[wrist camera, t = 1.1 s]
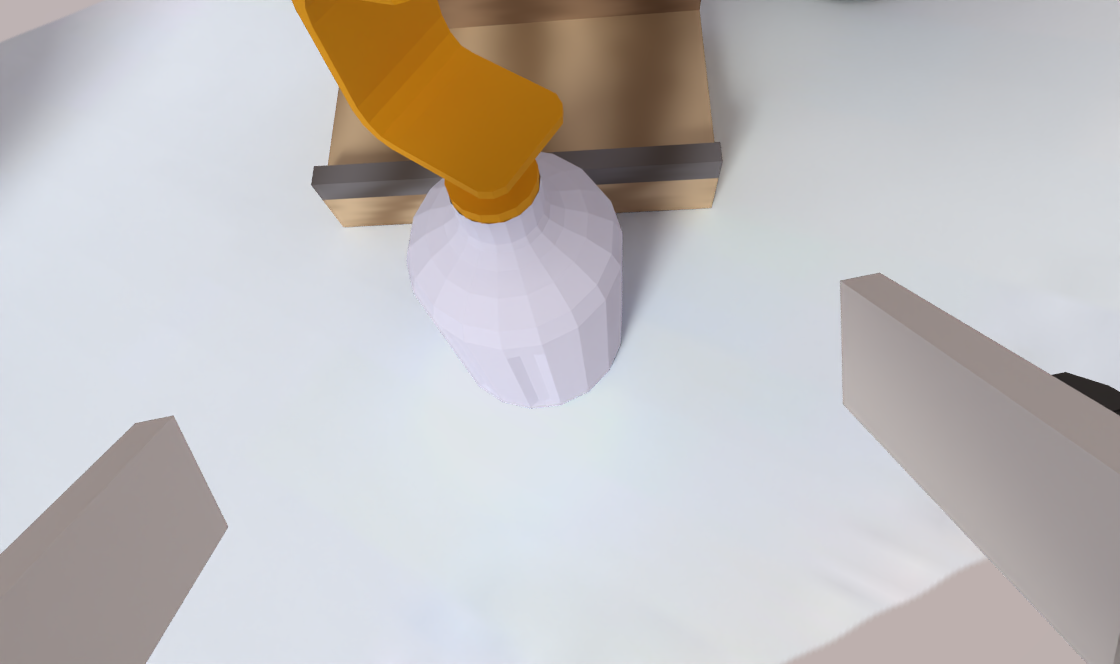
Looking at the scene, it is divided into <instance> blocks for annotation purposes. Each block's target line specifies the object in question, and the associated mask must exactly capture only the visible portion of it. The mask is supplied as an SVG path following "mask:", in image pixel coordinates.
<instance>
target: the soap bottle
mask: <svg viewBox="0 0 1120 664" xmlns="http://www.w3.org/2000/svg"><path fill="white" fill-rule="evenodd" d="M292 2H293V4H294V7H295V9H296V11H297V13H298V15H299V16H300V18H301V20H302V22H303V23H304V25H305V27H306V29H307V31H308V32H309V34H310V36H311V38H312V39H313V41H314V43H315V45H316V47H317V48H318V50H319V52H320V54H321V55H322V57H323V59H324V61H325V63H326V64H327V66H328V68H329V70H330V72H331V73H332V75H333V77H334V79H335V80H336V82H337V84H338V86H339V88H340V89H341V91H342V93H343V95H344V96H345V98H346V100H347V102H348V104H349V105H350V107H351V109H352V111H353V112H354V113H355V115H356V116H357V117H358V119H359V120H360V122H361V123H362V124H363V125H364V126H365V127H366V128H367V129H368V130H369V131H370V132H371V133H372V134H373V135H374V136H375V137H376V138H377V139H378V140H380V141H381V142H383V143H384V144H385V145H387V146H388V147H390V148H391V149H392V150H394V151H396V152H398V153H400V154H401V155H403V156H405V157H407V158H408V159H410V160H412V161H414V162H416V163H417V164H419V165H421V166H423V167H424V168H426V169H428V170H430V171H431V172H433V173H435V174H437V175H439V176H440V177H442V179H441V180H440V181H439V182H438V183H436V184H435V185H434V186H433V187H432V188H431V189H430V190H429V192H428V193H427V195H426V197H425V199H424V200H423V202H422V204H421V205H420V207H419V209H418V210H417V212H416V214H415V216H414V217H413V223H412V229H411V234H410V240H409V245H408V252H407V260H406V261H407V266H408V271H409V275H410V280H411V284H412V289H413V294H414V295H415V296H416V298H417V299H418V301H419V302H420V304H421V305H422V306H423V308H424V309H425V311H426V312H427V314H428V315H429V316H430V318H431V319H432V321H433V322H434V324H435V325H436V326H437V328H438V329H439V331H440V332H441V333H442V335H443V336H444V338H445V339H446V341H447V342H448V343H449V345H450V346H451V348H452V349H453V351H454V352H455V353H456V355H457V356H458V358H459V359H460V360H461V362H462V363H463V365H464V366H465V368H466V369H467V370H468V372H469V373H470V375H471V376H472V377H473V379H474V380H475V382H476V383H477V385H478V386H479V387H480V388H482V389H484V390H485V391H487V392H488V393H490V394H491V395H493V396H494V397H496V398H497V399H499V400H500V401H502V402H504V403H509V404H513V405H517V406H522V407H526V408H531V409H533V408H541V407H550V406H558V405H563V404H565V403H567V402H569V401H571V400H573V399H575V398H577V397H579V396H581V395H583V394H585V393H587V392H589V391H590V390H591V389H592V388H593V387H594V386H595V385H596V384H597V383H598V382H599V381H600V380H601V378H602V377H603V376H604V375H605V374H606V373H607V372H608V371H609V370H610V368H611V365H612V363H613V361H614V359H615V356H616V354H617V352H618V350H619V347H620V345H621V327H622V240H623V233H622V230H621V227H620V224H619V222H618V219H617V216H616V213H615V211H614V208H613V205H612V203H611V201H610V200H609V199H608V197H607V196H606V195H605V194H604V193H603V192H602V191H601V190H600V188H599V187H598V186H597V185H596V184H595V183H594V182H593V181H592V180H591V179H590V177H589V176H588V175H587V174H586V173H585V172H584V171H583V170H582V169H581V168H579V167H577V166H575V165H573V164H572V163H570V162H568V161H566V160H564V159H562V158H560V157H558V156H556V155H554V154H551V153H545V152H541V151H542V150H543V148H544V147H545V146H546V145H547V143H548V142H549V141H550V140H551V138H552V137H553V136H554V135H555V133H556V132H557V131H558V129H559V128H560V127H561V126H562V124H563V114H564V111H563V103H562V102H561V100H560V99H559V97H558V95H557V94H556V93H554V92H552V91H550V90H548V89H546V88H544V87H542V86H540V85H538V84H536V83H534V82H532V81H530V80H528V79H526V78H523V77H521V76H519V75H517V74H515V73H513V72H511V71H509V70H507V69H505V68H503V67H501V66H499V65H497V64H495V63H493V62H491V61H489V60H487V59H485V58H483V57H481V56H479V55H477V54H475V53H473V52H471V51H470V50H468V49H466V48H465V47H463V46H461V44H460V43H459V42H458V41H457V39H456V38H455V37H454V36H453V34H452V33H451V32H450V30H449V28H448V26H447V24H446V22H445V20H444V18H443V16H442V13H441V10H440V7H439V3H438V0H292Z"/></svg>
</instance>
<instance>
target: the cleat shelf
mask: <svg viewBox="0 0 1120 664" xmlns="http://www.w3.org/2000/svg"><path fill="white" fill-rule="evenodd" d="M700 2H701V0H438V3H439V7H440V10H441V13H442V16H443V18H444V20H445V22H446V24H447V26H448V28H449V30H450V32H451V33H452V34H453V36H454V37H455V38H456V39H457V41H458V42H459V43H460V44H461V46H463V47H465V48H466V49H468V50H470V51H471V52H473V53H475V54H477V55H479V56H481V57H483V58H485V59H487V60H489V61H491V62H493V63H495V64H497V65H499V66H501V67H503V68H505V69H507V70H509V71H511V72H513V73H515V74H517V75H519V76H521V77H523V78H526V79H528V80H530V81H532V82H534V83H536V84H538V85H540V86H542V87H544V88H546V89H548V90H550V91H552V92H554V93H556V94H557V95H558V97H559V99H560V100H561V102H562V103H563V111H564V114H563V124H562V126H561V127H560V128H559V129H558V131H557V132H556V133H555V135H554V136H553V137H552V138H551V140H550V141H549V142H548V143H547V145H546V146H545V147H544V148H543V150H542V151H541V152H545V153H551V154H554V155H556V156H558V157H560V158H562V159H564V160H566V161H568V162H570V163H572V164H573V165H575V166H577V167H579V168H581V169H582V170H583V171H584V172H585V173H586V174H587V175H588V176H589V177H590V179H591V180H592V181H593V182H594V183H595V184H596V185H597V186H598V187H599V188H600V190H601V191H602V192H603V193H604V194H605V195H606V196H607V197H608V199H609V200H610V201H611V203H612V205H613V208H614V211H615V213H623V212H642V211H661V210H680V209H700V208H711V207H712V203H713V199H714V194H715V190H716V186H717V182H718V178H719V174H720V169H721V165H722V153H721V145H720V142H714V134H713V125H712V117H711V108H710V99H709V90H708V81H707V72H706V63H705V55H704V46H703V37H702V28H701V19H700ZM441 179H442V177H440V176H439V175H437V174H435V173H433V172H431V171H430V170H428V169H426V168H424V167H423V166H421V165H419V164H417V163H416V162H414V161H412V160H410V159H408V158H407V157H405V156H403V155H401V154H400V153H398V152H396V151H394V150H392V149H391V148H390V147H388V146H387V145H385V144H384V143H383V142H381V141H380V140H378V139H377V138H376V137H375V136H374V135H373V134H372V133H371V132H370V131H369V130H368V129H367V128H366V127H365V126H364V125H363V124H362V123H361V122H360V120H359V119H358V117H357V116H356V115H355V113H354V112H353V111H352V109H351V107H350V105H349V104H348V102H347V100H346V98H345V96H344V95H343V93H342V91H341V89H340V88H339V90H338V97H337V104H336V111H335V118H334V125H333V132H332V139H331V146H330V153H329V160H328V166H314V170H313V177H312V183H311V185H312V187H313V188H314V189H315V191H316V192H317V193H318V194H319V196H320V197H321V198H322V200H323V201H324V202H325V204H326V205H327V206H328V207H329V209H330V210H331V211H332V213H333V214H334V215H335V217H336V218H337V219H338V220H339V222H340V223H341V224H342V226H343V227H355V226H374V225H393V224H412V223H413V217H414V216H415V214H416V212H417V210H418V209H419V207H420V205H421V204H422V202H423V200H424V199H425V197H426V195H427V193H428V192H429V190H430V189H431V188H432V187H433V186H434V185H435V184H436V183H438V182H439V181H440V180H441Z"/></svg>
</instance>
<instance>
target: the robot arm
mask: <svg viewBox="0 0 1120 664" xmlns="http://www.w3.org/2000/svg"><path fill="white" fill-rule="evenodd" d="M840 299H841V344H842V388H843V405H844V406H845V407H846V408H847V409H848V410H849V411H850V412H851V413H852V415H853V416H854V417H855V418H856V419H857V420H858V421H859V422H860V423H861V424H862V425H863V426H864V427H865V428H866V429H867V430H868V432H869V433H870V434H871V435H872V436H873V437H874V438H875V439H876V440H877V441H878V442H879V443H880V444H881V445H882V446H883V447H884V449H885V450H886V451H887V452H888V453H889V454H890V455H891V456H892V457H893V458H894V459H895V460H896V461H897V462H898V463H899V464H900V466H901V467H902V468H903V469H904V470H905V471H906V472H907V473H908V474H909V475H910V476H911V477H912V478H913V479H914V480H915V481H916V483H917V484H918V485H919V486H920V487H921V488H922V489H923V490H924V491H925V492H926V493H927V494H928V495H929V496H930V497H931V498H932V500H933V501H934V502H935V503H936V504H937V505H938V506H939V507H940V508H941V509H942V510H943V511H944V512H945V513H946V514H947V515H948V517H949V518H950V519H951V520H952V521H953V522H954V523H955V524H956V525H957V526H958V527H959V528H960V529H961V530H962V531H963V532H964V534H965V535H966V536H967V537H968V538H969V539H970V540H971V541H972V542H973V543H974V544H975V545H976V546H977V547H978V548H979V549H980V551H981V552H982V553H983V554H984V555H985V556H986V557H987V558H988V559H989V560H990V561H991V562H992V563H993V564H994V565H995V566H996V568H997V569H998V570H999V571H1000V572H1001V573H1002V574H1003V575H1004V576H1005V577H1006V578H1007V579H1008V580H1009V581H1010V582H1011V583H1012V584H1013V586H1014V587H1015V588H1016V589H1017V590H1018V591H1019V592H1020V593H1021V594H1022V595H1023V596H1024V597H1025V598H1026V599H1027V600H1028V602H1029V603H1030V604H1031V605H1032V606H1033V607H1034V608H1035V609H1036V610H1037V611H1038V612H1039V613H1040V614H1041V615H1042V616H1043V617H1044V618H1045V619H1046V621H1047V622H1049V624H1050V625H1051V626H1052V627H1053V628H1054V629H1055V630H1056V631H1057V632H1058V633H1059V635H1060V636H1061V637H1063V639H1064V640H1065V641H1066V642H1067V643H1068V644H1069V645H1070V646H1071V647H1072V648H1073V649H1074V650H1075V651H1076V653H1077V654H1078V655H1079V656H1080V657H1081V658H1082V659H1083V660H1084V661H1085V662H1086V663H1087V664H1120V392H1119V391H1117V390H1116V389H1114V388H1112V387H1110V386H1108V385H1105V384H1102V383H1099V382H1095V381H1092V380H1089V379H1086V378H1083V377H1079V376H1076V375H1073V374H1070V373H1067V372H1064V373H1059V374H1054V375H1050V374H1049V373H1047V372H1045V371H1044V370H1042V369H1040V368H1039V367H1037V366H1035V365H1034V364H1032V363H1030V362H1029V361H1027V360H1025V359H1023V358H1022V357H1020V356H1018V355H1017V354H1015V353H1013V352H1012V351H1010V350H1008V349H1007V348H1005V347H1003V346H1002V345H1000V344H998V343H997V342H995V341H993V340H992V339H990V338H988V337H987V336H985V335H983V334H982V333H980V332H978V331H977V330H975V329H973V328H971V327H970V326H968V325H966V324H965V323H963V322H961V321H960V320H958V319H956V318H955V317H953V316H951V315H950V314H948V313H946V312H945V311H943V310H941V309H940V308H938V307H936V306H935V305H933V304H931V303H930V302H928V301H926V300H925V299H923V298H921V297H919V296H918V295H916V294H914V293H913V292H911V291H909V290H908V289H906V288H904V287H903V286H901V285H899V284H898V283H896V282H894V281H893V280H891V279H889V278H888V277H886V276H884V275H883V274H881V273H876V274H871V275H866V276H861V277H856V278H851V279H846V280H841V281H840ZM227 528H228V525H227V523H226V521H225V519H224V517H223V515H222V513H221V511H220V509H219V507H218V505H217V503H216V501H215V499H214V497H213V495H212V493H211V491H210V489H209V487H208V485H207V483H206V481H205V479H204V477H203V475H202V472H201V470H200V468H199V466H198V464H197V462H196V460H195V458H194V456H193V454H192V452H191V450H190V448H189V446H188V444H187V442H186V440H185V438H184V436H183V434H182V432H181V430H180V428H179V426H178V424H177V422H176V420H175V418H174V416H169V417H164V418H159V419H154V420H149V421H144V422H139V423H135V424H134V425H133V426H132V427H131V428H130V429H129V430H128V431H127V432H126V433H125V434H124V435H123V436H122V437H121V438H120V439H119V440H118V441H117V442H116V443H114V444H113V445H112V446H111V447H110V448H109V449H108V450H107V451H106V452H105V453H104V454H103V455H102V456H101V457H100V458H99V459H98V460H97V461H96V462H95V463H94V464H93V465H92V466H91V467H90V468H89V469H88V470H87V471H86V472H85V473H84V474H83V475H82V476H81V477H80V478H79V479H78V480H76V481H75V482H74V483H73V484H72V485H71V486H70V487H69V488H68V489H67V490H66V491H65V492H64V493H63V494H62V495H61V496H60V497H59V498H58V499H57V500H56V501H55V502H54V503H53V504H52V505H51V506H50V507H49V508H48V509H47V510H46V511H45V512H44V513H43V514H42V515H41V516H40V517H38V518H37V519H36V520H35V521H34V522H33V523H32V524H31V525H30V526H29V527H28V528H27V529H26V530H25V531H24V532H23V533H22V534H21V535H20V536H19V537H18V538H17V539H16V540H15V541H14V542H13V543H12V544H11V545H10V546H9V547H8V548H7V549H6V550H5V551H4V552H3V553H1V554H0V664H146V662H147V660H148V659H149V657H150V656H151V654H152V652H153V651H154V649H155V647H156V646H157V644H158V642H159V641H160V639H161V637H162V636H163V634H164V632H165V631H166V629H167V627H168V626H169V624H170V622H171V621H172V619H173V617H174V616H175V614H176V613H177V611H178V609H179V608H180V606H181V604H182V603H183V601H184V599H185V598H186V596H187V594H188V593H189V591H190V589H191V588H192V586H193V584H194V583H195V581H196V579H197V578H198V576H199V575H200V573H201V571H202V570H203V568H204V566H205V565H206V563H207V561H208V560H209V558H210V556H211V555H212V553H213V551H214V550H215V548H216V546H217V545H218V543H219V541H220V540H221V538H222V536H223V535H224V533H225V532H226V530H227Z"/></svg>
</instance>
